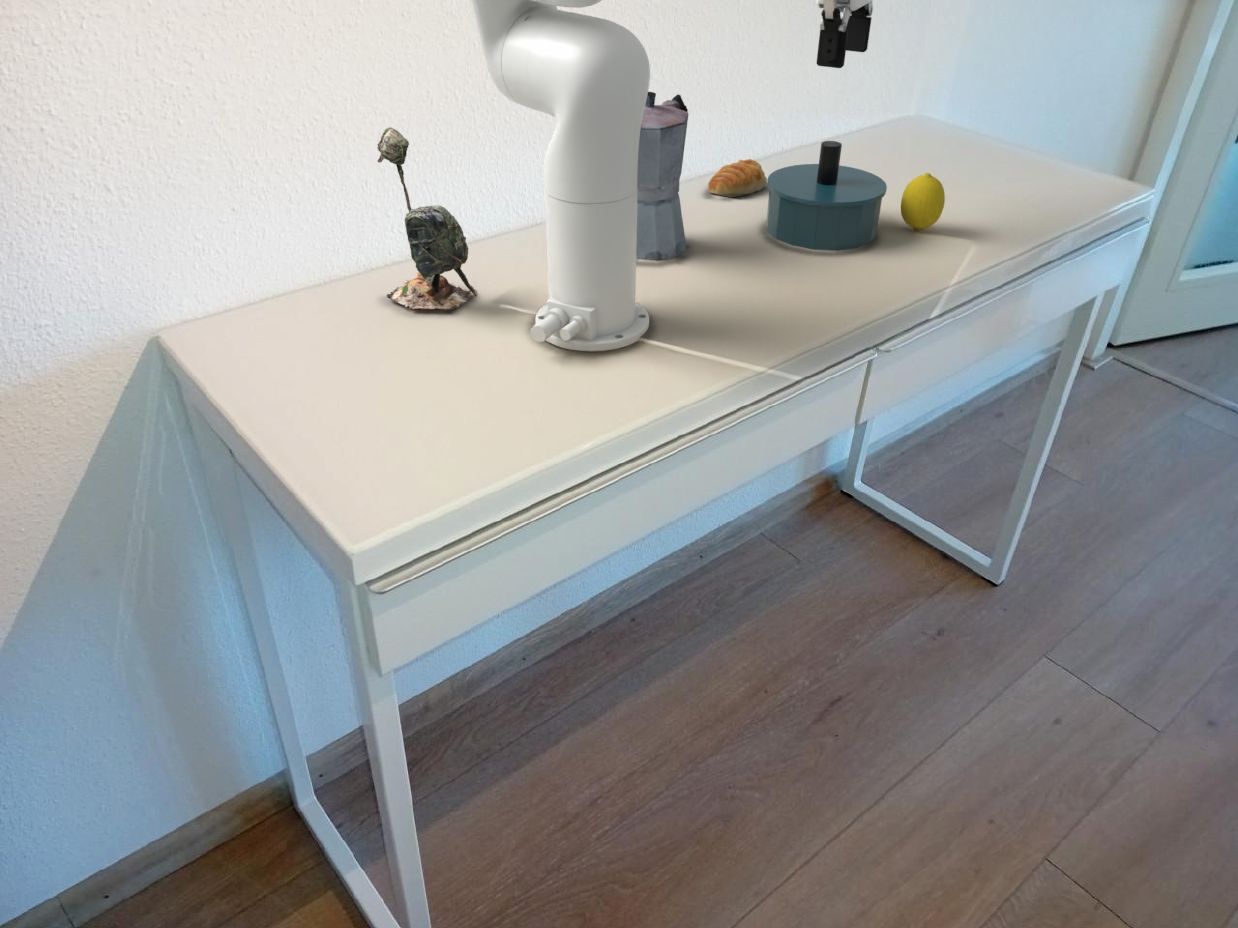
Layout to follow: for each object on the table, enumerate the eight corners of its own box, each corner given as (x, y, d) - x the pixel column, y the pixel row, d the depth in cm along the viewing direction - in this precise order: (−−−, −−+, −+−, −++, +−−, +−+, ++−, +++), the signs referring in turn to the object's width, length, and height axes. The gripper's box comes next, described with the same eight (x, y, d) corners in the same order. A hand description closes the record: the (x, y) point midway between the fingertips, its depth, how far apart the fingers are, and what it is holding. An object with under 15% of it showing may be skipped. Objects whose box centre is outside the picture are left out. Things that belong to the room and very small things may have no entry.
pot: (856, 262, 124) (864, 213, 120) (750, 241, 129) (754, 194, 126) (886, 225, 134) (894, 179, 131) (787, 208, 140) (792, 163, 136)
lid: (866, 219, 120) (874, 169, 117) (749, 199, 126) (753, 150, 122) (898, 183, 131) (906, 136, 128) (789, 166, 137) (794, 121, 134)
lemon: (935, 225, 135) (946, 167, 130) (940, 240, 130) (952, 181, 126) (894, 223, 135) (904, 165, 131) (898, 238, 131) (908, 179, 126)
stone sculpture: (441, 328, 108) (421, 146, 97) (378, 299, 114) (352, 124, 103) (495, 305, 113) (483, 129, 102) (432, 278, 119) (414, 109, 108)
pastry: (733, 203, 141) (734, 177, 139) (695, 193, 145) (696, 168, 143) (769, 187, 147) (771, 162, 145) (732, 178, 151) (734, 153, 149)
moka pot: (590, 263, 123) (588, 99, 112) (644, 224, 134) (648, 71, 123) (658, 278, 119) (663, 110, 108) (708, 236, 131) (718, 80, 119)
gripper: (852, -110, 117) (833, 42, 127) (805, -99, 105) (788, 69, 114) (914, -107, 115) (891, 48, 124) (874, -95, 102) (851, 77, 112)
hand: (842, 58), depth 119 cm, fingers open, 9 cm apart
